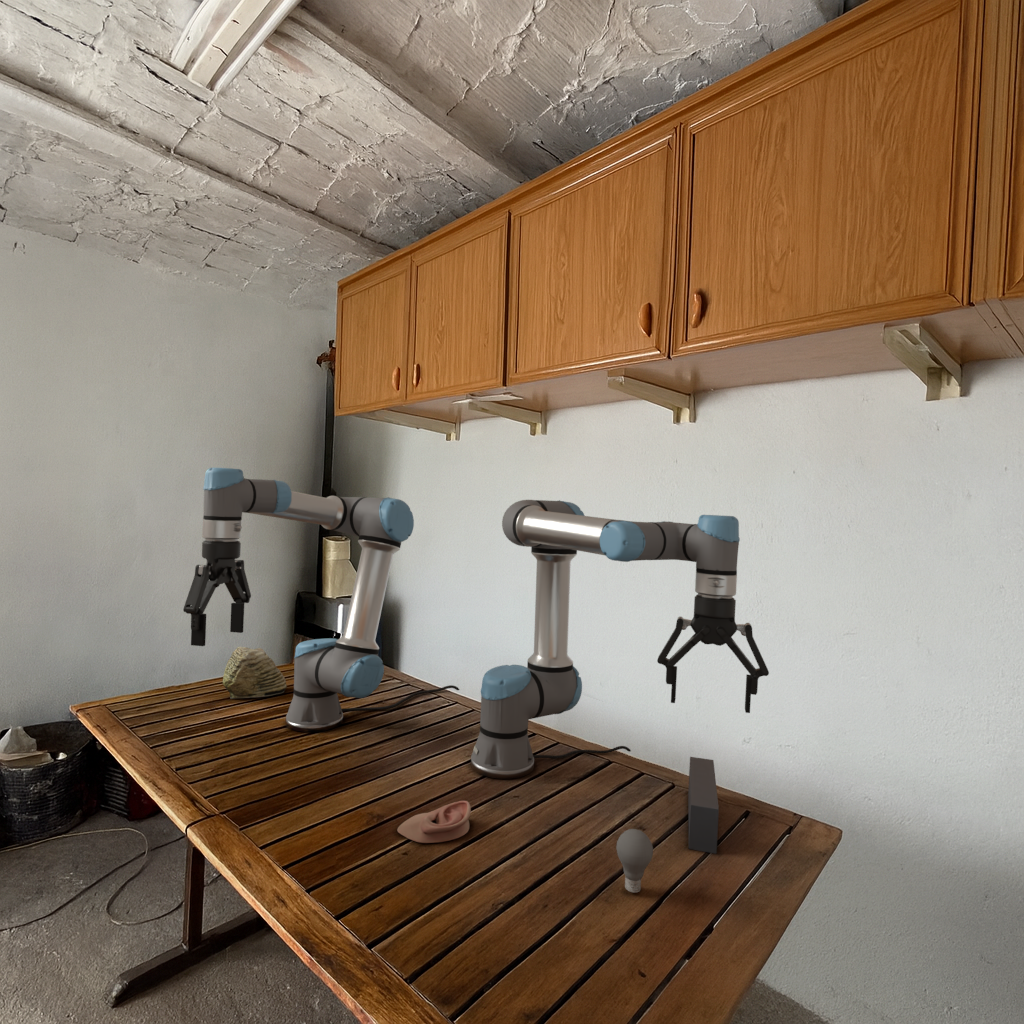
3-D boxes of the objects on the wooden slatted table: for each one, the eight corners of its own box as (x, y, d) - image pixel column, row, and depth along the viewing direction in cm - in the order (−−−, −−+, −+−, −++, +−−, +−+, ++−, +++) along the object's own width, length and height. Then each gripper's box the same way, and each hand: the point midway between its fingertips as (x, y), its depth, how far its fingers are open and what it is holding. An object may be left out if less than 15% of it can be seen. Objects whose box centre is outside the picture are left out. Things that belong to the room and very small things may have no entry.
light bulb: (610, 879, 108) (613, 822, 108) (644, 879, 109) (647, 822, 109) (619, 902, 102) (622, 840, 102) (655, 901, 103) (658, 840, 103)
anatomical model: (391, 817, 118) (413, 790, 130) (390, 838, 118) (412, 809, 130) (459, 827, 116) (476, 799, 127) (459, 849, 116) (475, 819, 127)
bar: (688, 793, 143) (690, 756, 143) (711, 797, 141) (713, 759, 141) (688, 849, 120) (690, 804, 119) (716, 854, 118) (718, 809, 118)
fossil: (218, 695, 195) (220, 647, 195) (278, 685, 208) (279, 640, 207) (228, 703, 189) (230, 653, 188) (289, 692, 201) (290, 645, 201)
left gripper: (200, 544, 123) (196, 653, 123) (268, 537, 147) (265, 628, 148) (165, 542, 124) (162, 650, 124) (239, 536, 149) (236, 626, 149)
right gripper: (647, 592, 121) (641, 702, 122) (788, 604, 114) (782, 721, 114) (650, 587, 128) (645, 691, 129) (783, 598, 121) (777, 708, 121)
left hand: (218, 638), depth 136 cm, fingers open, 13 cm apart
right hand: (709, 706), depth 122 cm, fingers open, 13 cm apart
